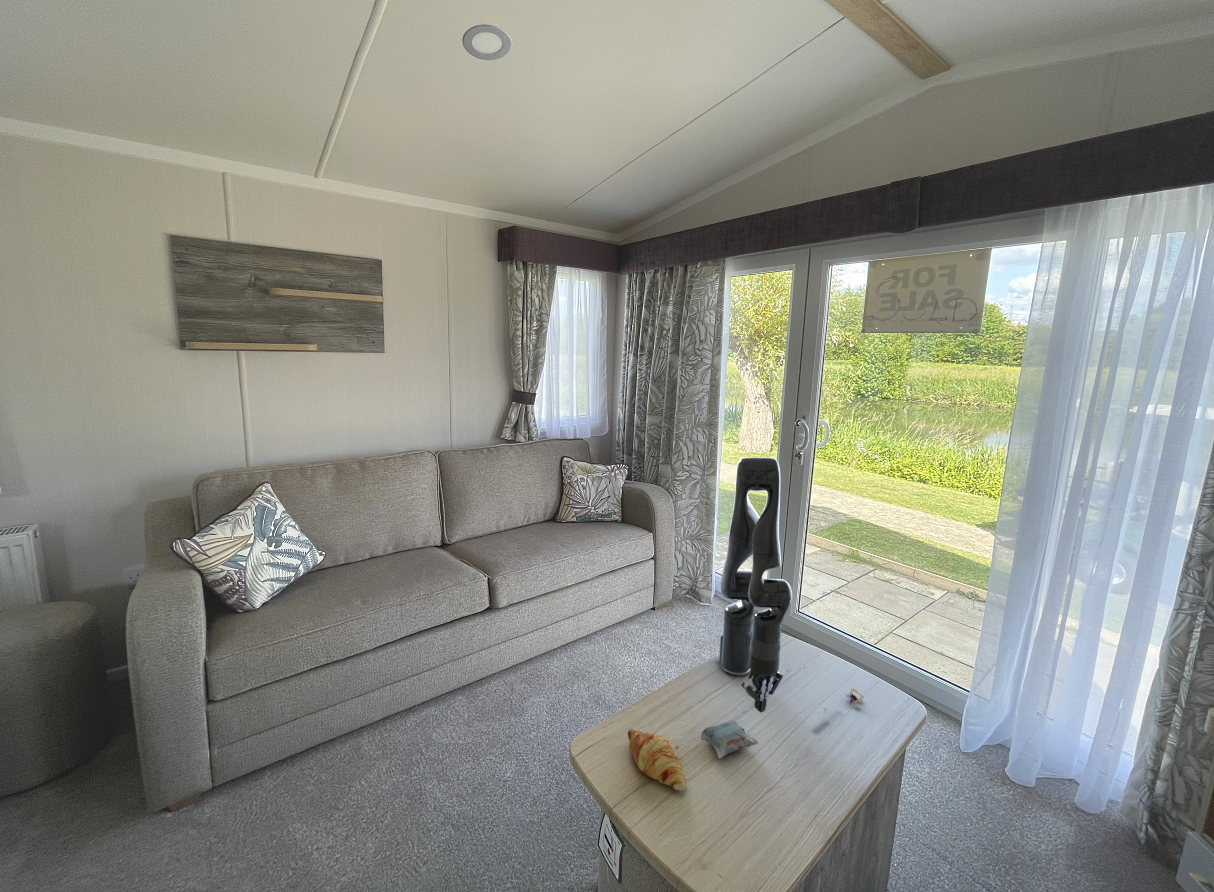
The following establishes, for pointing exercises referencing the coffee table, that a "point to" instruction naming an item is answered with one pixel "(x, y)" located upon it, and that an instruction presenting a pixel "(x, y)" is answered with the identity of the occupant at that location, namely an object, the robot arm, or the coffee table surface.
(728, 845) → the coffee table surface
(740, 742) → the packaged food
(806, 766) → the coffee table surface
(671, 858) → the coffee table surface
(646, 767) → the croissant
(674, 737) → the coffee table surface
